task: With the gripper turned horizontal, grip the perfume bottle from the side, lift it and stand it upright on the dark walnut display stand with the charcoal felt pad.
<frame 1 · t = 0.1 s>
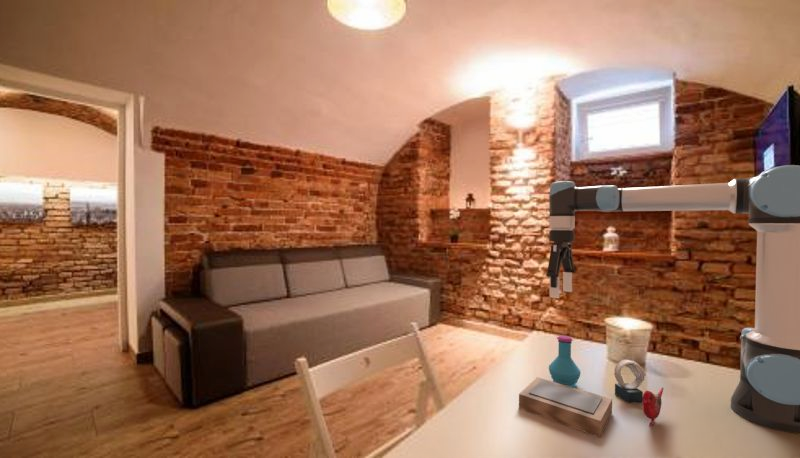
hand: (561, 294, 115), 28 cm above the table, tool pointing down, fingers open, 13 cm apart
decorative bird figurine: (654, 422, 92), on the table
walnut stand: (564, 410, 96), on the table
perfume bottle: (564, 384, 113), on the table
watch: (628, 398, 104), on the table
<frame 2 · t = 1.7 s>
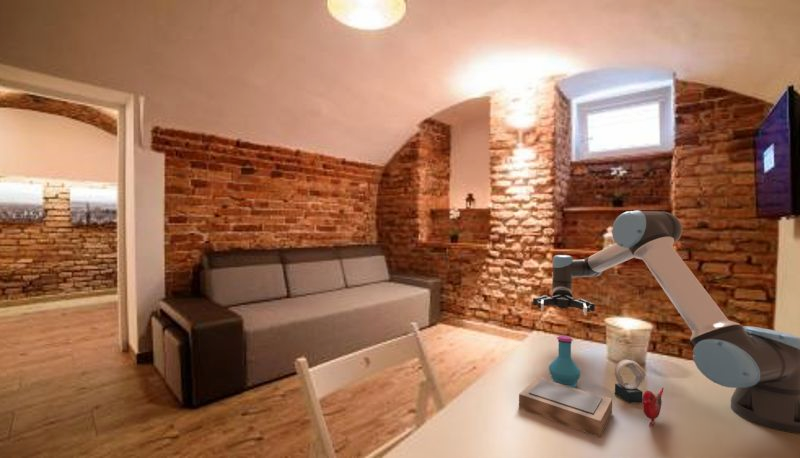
hand: (563, 309, 121), 22 cm above the table, tool horizontal, fingers open, 13 cm apart
nothing on the table moved.
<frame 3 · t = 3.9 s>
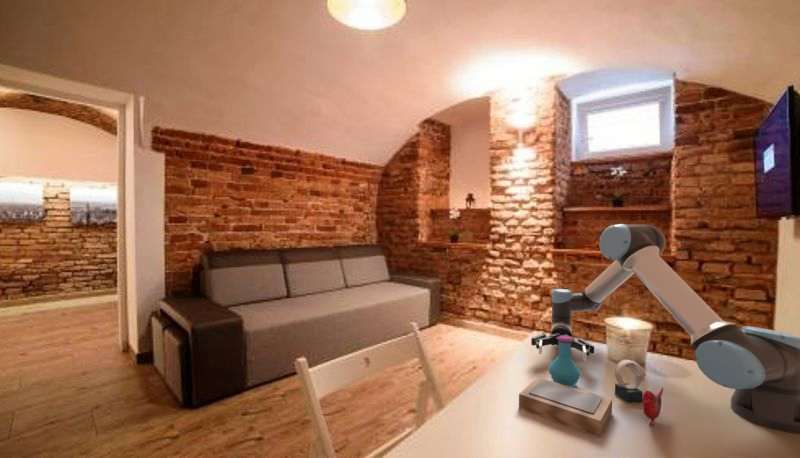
hand: (562, 353, 118), 8 cm above the table, tool horizontal, fingers open, 13 cm apart
nothing on the table moved.
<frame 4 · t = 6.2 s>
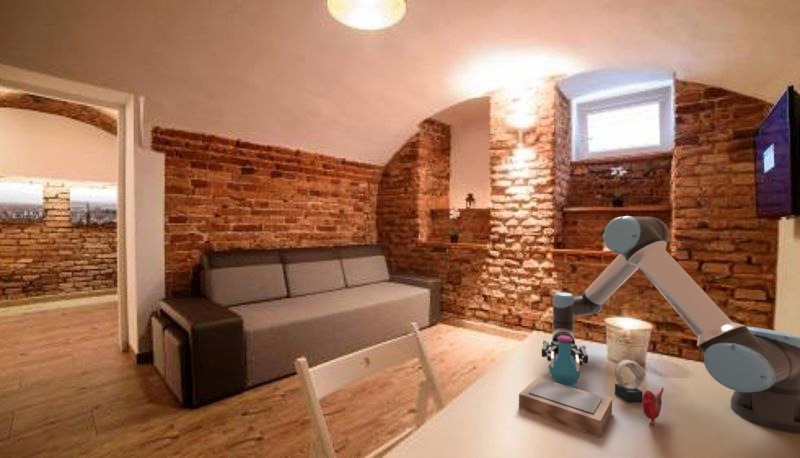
hand: (564, 364, 108), 8 cm above the table, tool horizontal, fingers closed on perfume bottle, 6 cm apart
perfume bottle: (564, 384, 113), on the table, touching gripper
everything else where it was.
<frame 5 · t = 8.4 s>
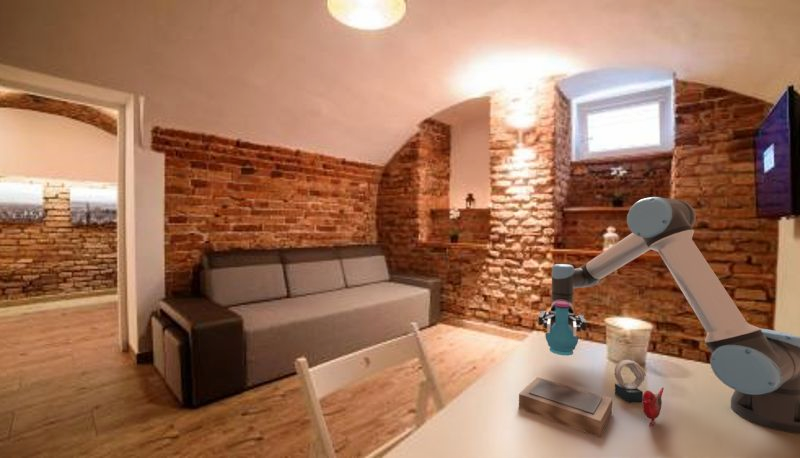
hand: (561, 330, 104), 20 cm above the table, tool horizontal, fingers closed on perfume bottle, 6 cm apart
perfume bottle: (561, 352, 109), point 12 cm above the table, touching gripper
everything else where it was.
when the fingers open (14 cm above the table, at t = 10.9 s): perfume bottle drops 2 cm, resting on walnut stand.
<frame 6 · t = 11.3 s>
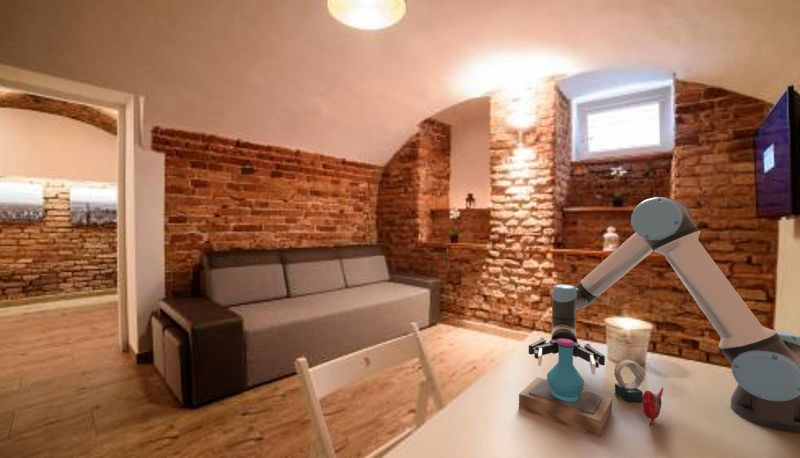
hand: (565, 364, 93), 14 cm above the table, tool horizontal, fingers open, 12 cm apart
perfume bottle: (564, 395, 96), point 4 cm above the table, touching walnut stand
everything else where it was.
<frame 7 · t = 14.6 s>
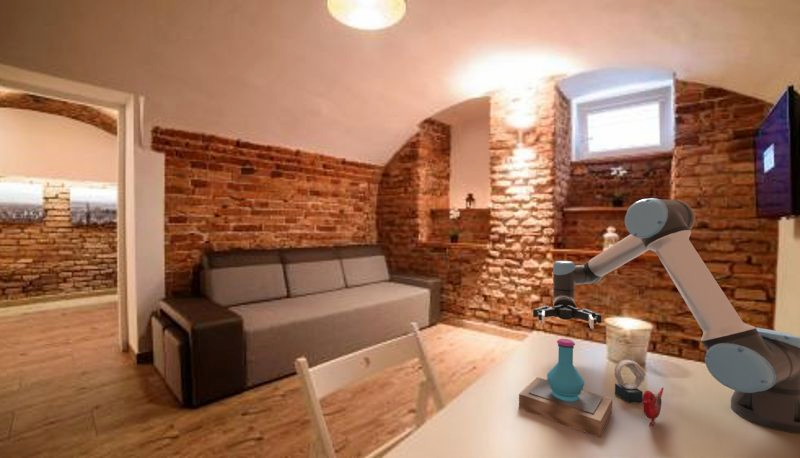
hand: (567, 321, 108), 21 cm above the table, tool horizontal, fingers open, 13 cm apart
nothing on the table moved.
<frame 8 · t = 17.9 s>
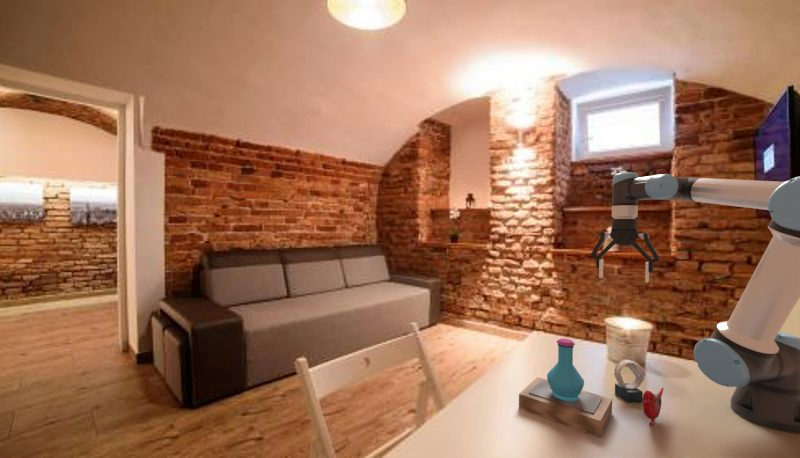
hand: (623, 279, 122), 32 cm above the table, tool pointing down, fingers open, 13 cm apart
nothing on the table moved.
at the end: perfume bottle inside the target area on the walnut stand (0.0 cm from its centre), point 4.1 cm above the walnut stand's base; perfume bottle tilted 0°; the gripper is holding nothing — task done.
